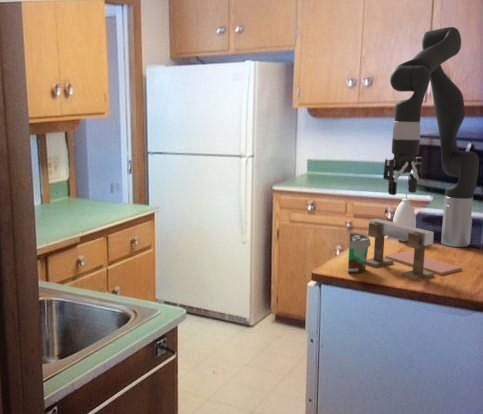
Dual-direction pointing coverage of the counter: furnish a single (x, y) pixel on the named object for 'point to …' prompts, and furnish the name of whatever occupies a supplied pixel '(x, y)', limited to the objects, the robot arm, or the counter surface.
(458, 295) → the counter surface
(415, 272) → the cradle stands
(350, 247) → the food container
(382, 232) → the steel rail
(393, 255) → the rust mat
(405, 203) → the sauce bottle
